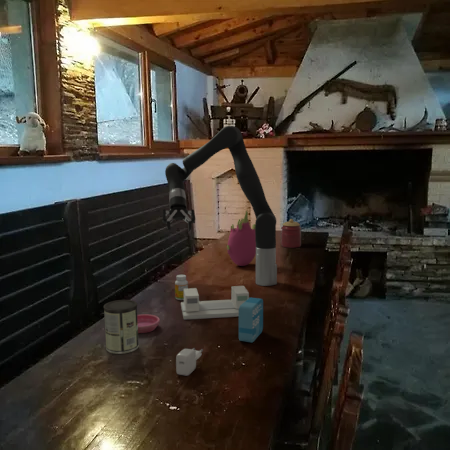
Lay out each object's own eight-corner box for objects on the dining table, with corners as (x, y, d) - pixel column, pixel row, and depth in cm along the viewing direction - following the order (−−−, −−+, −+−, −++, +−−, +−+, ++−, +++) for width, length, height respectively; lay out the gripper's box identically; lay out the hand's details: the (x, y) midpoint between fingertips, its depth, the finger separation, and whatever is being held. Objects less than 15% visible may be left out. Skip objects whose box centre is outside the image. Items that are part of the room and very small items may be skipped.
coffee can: (116, 339, 159) (115, 298, 157) (144, 343, 156) (143, 301, 154) (98, 351, 150) (96, 307, 148) (128, 356, 146) (126, 311, 144)
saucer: (125, 337, 162) (125, 328, 161) (122, 324, 174) (122, 315, 173) (162, 333, 165) (162, 324, 165) (157, 320, 177) (157, 312, 176)
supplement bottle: (175, 296, 205) (174, 274, 204) (188, 296, 206) (187, 274, 204) (175, 300, 200) (174, 277, 199) (188, 300, 201) (187, 277, 199)
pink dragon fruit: (253, 261, 268) (253, 208, 264) (262, 267, 256) (262, 210, 251) (222, 264, 263) (222, 209, 258) (230, 270, 250) (230, 212, 246)
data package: (251, 344, 155) (251, 308, 153) (238, 342, 157) (238, 306, 155) (263, 331, 166) (263, 297, 164) (250, 329, 168) (250, 296, 166)
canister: (281, 243, 319) (281, 217, 316) (300, 244, 317) (301, 217, 314) (280, 247, 306) (280, 220, 303) (301, 248, 304) (301, 220, 301)
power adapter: (191, 358, 144) (190, 340, 143) (206, 361, 143) (205, 342, 142) (173, 374, 134) (173, 354, 133) (189, 377, 132) (189, 357, 131)
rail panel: (244, 302, 197) (244, 283, 196) (253, 315, 181) (253, 295, 180) (180, 305, 193) (180, 286, 192) (183, 319, 178) (183, 298, 176)
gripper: (162, 195, 214) (163, 225, 205) (194, 195, 216) (196, 225, 207) (161, 205, 220) (162, 235, 211) (192, 205, 222) (195, 234, 213)
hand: (179, 230), depth 209 cm, fingers open, 8 cm apart
